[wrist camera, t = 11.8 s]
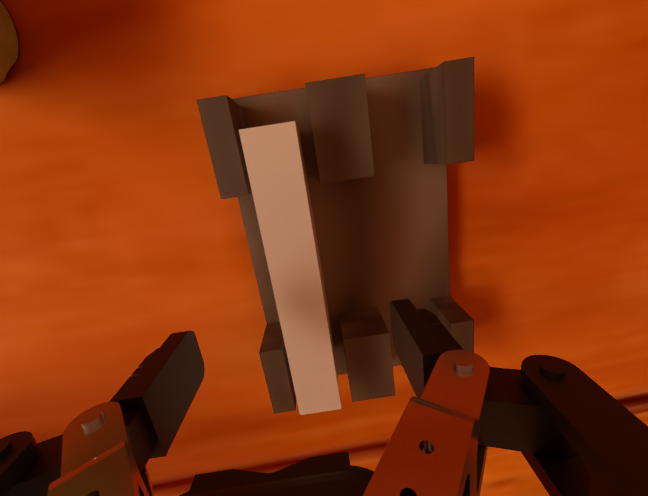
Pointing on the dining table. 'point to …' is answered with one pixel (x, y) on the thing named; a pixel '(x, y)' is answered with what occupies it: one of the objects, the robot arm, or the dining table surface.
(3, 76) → the plant pot
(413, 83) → the dark grey holder
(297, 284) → the clay strip
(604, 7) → the dining table surface
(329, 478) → the robot arm
